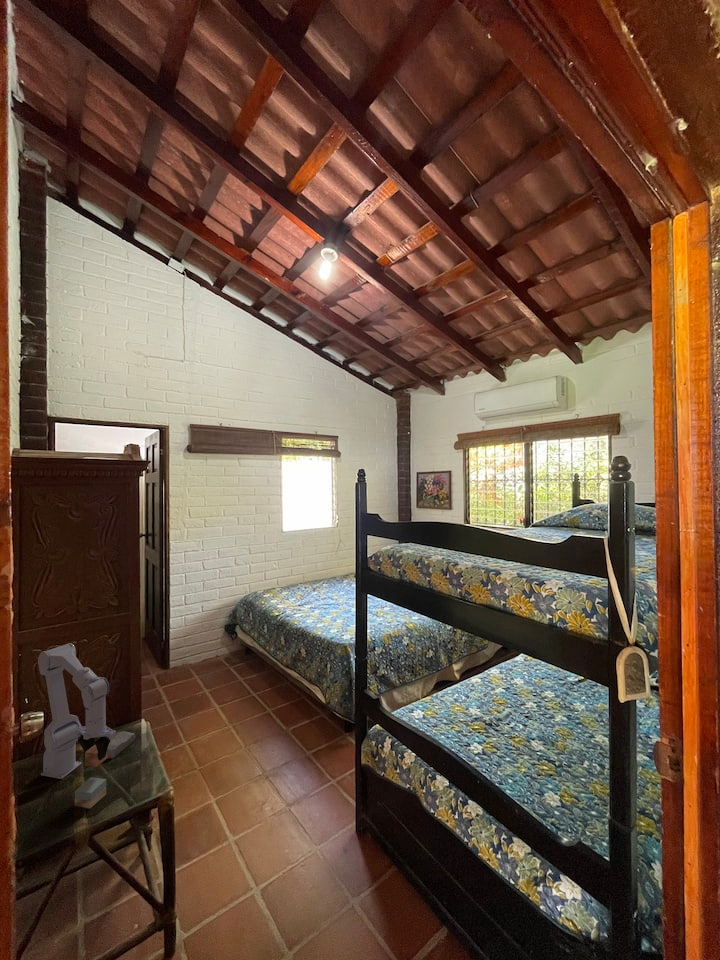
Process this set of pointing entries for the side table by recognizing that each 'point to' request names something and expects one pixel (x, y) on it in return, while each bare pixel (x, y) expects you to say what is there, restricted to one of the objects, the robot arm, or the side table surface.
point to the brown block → (90, 803)
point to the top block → (90, 789)
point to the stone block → (119, 743)
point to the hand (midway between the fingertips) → (95, 757)
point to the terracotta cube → (93, 757)
